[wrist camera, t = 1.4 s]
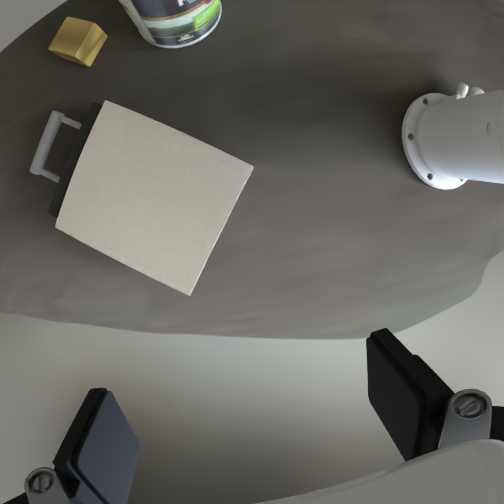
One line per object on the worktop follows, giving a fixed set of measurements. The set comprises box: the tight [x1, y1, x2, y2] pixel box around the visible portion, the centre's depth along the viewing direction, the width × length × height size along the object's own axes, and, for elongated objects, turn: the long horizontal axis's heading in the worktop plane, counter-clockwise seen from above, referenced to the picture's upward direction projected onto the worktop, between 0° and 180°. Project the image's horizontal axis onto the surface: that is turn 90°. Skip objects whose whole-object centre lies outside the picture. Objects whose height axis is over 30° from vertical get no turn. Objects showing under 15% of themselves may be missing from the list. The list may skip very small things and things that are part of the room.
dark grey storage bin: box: [30, 102, 102, 217], centre depth 30 cm, size 19×11×7 cm, turn 63°
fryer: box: [55, 100, 254, 296], centre depth 30 cm, size 15×13×9 cm
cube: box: [48, 17, 108, 67], centre depth 27 cm, size 4×4×4 cm
